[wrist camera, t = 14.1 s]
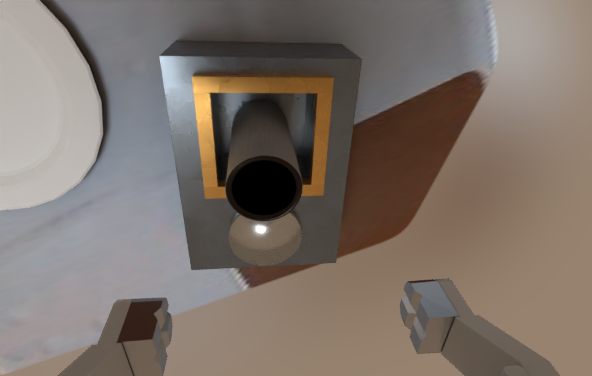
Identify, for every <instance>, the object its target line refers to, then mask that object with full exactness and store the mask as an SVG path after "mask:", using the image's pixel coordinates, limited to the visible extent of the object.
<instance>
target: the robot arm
mask: <svg viewBox="0 0 592 376" xmlns="http://www.w3.org/2000/svg"><path fill="white" fill-rule="evenodd" d="M404 291H405V293H406V294H405V295H404V296H403V297H402V298H401V303H400V313H401V317H402V320H403V322H404V325H405V326H406V327H408V328H409V329H410V330H411V334H410V338H411V341H412V343H413V345H414V348H415V350H416V352H417V354H424V353H441V352H442V355H443V356H444V357H445V358H446V359H447V360H449V362H451V363H452V364H453V365H454V366H455V367H456V368H457V369H458V370H459V371H460V372H461V373H462V374H463V375H465V376H560V375H559V374H558V372H557V371H556V370H555V369H554V367H553V366H552V364H551V363H550V362H549V361H548V360H546V359H545V358H543V357H542V356H540V355H539V354H537V353H536V352H534V351H533V350H531V349H530V348H528V347H527V346H525V345H523V344H522V343H520V342H519V341H517V340H516V339H514V338H513V337H511V336H510V335H508V334H507V333H505V332H504V331H502V330H500V329H499V328H497V327H496V326H494V325H493V324H491V323H490V322H488V321H487V320H485V319H484V318H482V317H480V316H479V315H474V314H473V312H472V311H471V309H470V308H469V306H468V305H467V303H466V302H465V300H464V299H463V297H462V295H461V294H460V292H459V291H458V289H457V288H456V286H455V285H454V283H453V282H452V280H450V279H449V278H448V279H435V280H433V279H432V280H420V281H408V282H407V283H406V284H405V286H404ZM167 310H168V301H167V298H141V299H123V300H117V301H116V302H115V303H114V305H113V307H112V310H111V312H110V314H109V317H108V319H107V322H106V324H105V327H104V329H103V332H102V334H101V337H100V339H99V341H98V344H97V345H92V346H91V347H90V348H88V349H87V350H86V351H85V352H84V353H83V354H82V355H80V356H79V357H78V358H77V359H76V360H75V361H74V362H73V363H71V364H70V365H69V366H68V367H67V368H66V369H65V370H63V371H62V372H61V373H60V374H59V375H58V376H163V374H164V370H165V365H166V360H167V353H166V347H167V346H168V345H169V344H170V341H171V336H172V318H171V314H170V313H168V312H167Z"/></svg>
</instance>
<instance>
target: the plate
mask: <svg viewBox="0 0 592 376" xmlns="http://www.w3.org/2000/svg"><path fill="white" fill-rule="evenodd" d="M103 133H104V130H103V111H102V100H101V97H100V94H99V91H98V88H97V85H96V82H95V79H94V76H93V73H92V70H91V67H90V65H89V63H88V61H87V60H86V58H85V57H84V55H83V53H82V52H81V50H80V48H79V47H78V45H77V44H76V42H75V40H74V39H73V37H72V35H71V34H70V32H69V31H68V29H67V28H66V27H65V26H64V24H63V23H62V22H61V21H60V20H59V19H58V18H57V17H56V16H55V15H54V14H53V13H52V12H51V11H50V9H49V8H48V7H47V6H46V5H45V4H44V3H43V2H42V1H41V0H0V211H2V210H12V209H22V208H32V207H34V206H37V205H40V204H43V203H46V202H49V201H52V200H55V199H57V198H59V197H61V196H62V195H64V194H65V193H66V192H68V191H69V190H71V189H72V188H73V187H75V186H76V185H78V184H79V183H80V182H81V181H82V180H83V178H84V177H85V175H86V174H87V172H88V171H89V170H90V168H91V167H92V165H93V164H94V162H95V161H96V159H97V155H98V152H99V148H100V144H101V141H102V137H103Z"/></svg>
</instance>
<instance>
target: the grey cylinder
mask: <svg viewBox="0 0 592 376" xmlns="http://www.w3.org/2000/svg"><path fill="white" fill-rule="evenodd" d="M302 191H303V184H302V178H301V174H300V170H299V166H298V162H297V158H296V154H295V150H294V146H293V142H292V138H291V135H290V131H289V127H288V123H287V120H286V117H285V115H284V113H283V112H282V110H281V109H280V108H279V107H277V106H276V105H275V104H273V103H271V102H268V101H262V100H257V101H252V102H249V103H247V104H245V105H244V106H242V107H241V108H240V109H239V110H238V112H237V113H236V115H235V117H234V120H233V124H232V133H231V141H230V150H229V158H228V167H227V176H226V185H225V192H226V197H227V200H228V202H229V204H230V205H231V207H232V208H233V209H234V210H235V211H236V212H237V213H239V214H240V215H242V216H243V217H245V218H248V219H251V220H255V221H272V220H276V219H279V218H281V217H283V216H285V215H287V214H288V213H290V212H291V211H292V210H293V209H294V208H295V207H296V206H297V204H298V202H299V201H300V198H301V196H302Z"/></svg>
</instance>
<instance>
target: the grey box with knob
mask: <svg viewBox="0 0 592 376" xmlns="http://www.w3.org/2000/svg"><path fill="white" fill-rule="evenodd" d="M159 57H160V63H161V70H162V77H163V83H164V90H165V97H166V103H167V110H168V117H169V124H170V130H171V137H172V144H173V150H174V157H175V164H176V170H177V177H178V184H179V190H180V197H181V204H182V210H183V217H184V224H185V230H186V237H187V244H188V250H189V257H190V264H191V270H200V269H220V268H240V267H260V266H281V265H301V264H321V263H336V259H337V251H338V244H339V236H340V228H341V220H342V212H343V204H344V196H345V188H346V180H347V172H348V164H349V156H350V148H351V140H352V132H353V124H354V116H355V108H356V100H357V92H358V85H359V77H360V69H361V61H362V59H361V58H359V57H358V56H357V55H355V54H354V53H353V52H351V51H350V50H349V49H347V48H346V47H345V46H344V45H342V44H310V43H265V42H219V41H175V42H174V43H173V44H172V45H171V46H170V47H169V48H167V49H166V50H165V51H164V52H163V53H162V54H161V55H160V56H159ZM257 100H262V101H268V102H271V103H273V104H275V105H276V106H277V107H279V108H280V109H281V110H282V112H283V113H284V115H285V117H286V120H287V123H288V127H289V131H290V135H291V138H292V142H293V146H294V150H295V154H296V158H297V162H298V166H299V170H300V174H301V178H302V184H303V191H302V196H301V198H300V201H299V202H298V204H297V206H296V207H295V208H294V209H293V210H292V211H291V212H290V213H288V214H287V215H285V216H283V217H281V218H279V219H276V220H272V221H255V220H251V219H248V218H245V217H243V216H242V215H240V214H239V213H237V212H236V211H235V210H234V209H233V208H232V207H231V205H230V204H229V202H228V200H227V197H226V192H225V185H226V176H227V167H228V158H229V150H230V141H231V133H232V124H233V120H234V117H235V115H236V113H237V112H238V110H239V109H240V108H241V107H242V106H244V105H245V104H247V103H249V102H252V101H257Z"/></svg>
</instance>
